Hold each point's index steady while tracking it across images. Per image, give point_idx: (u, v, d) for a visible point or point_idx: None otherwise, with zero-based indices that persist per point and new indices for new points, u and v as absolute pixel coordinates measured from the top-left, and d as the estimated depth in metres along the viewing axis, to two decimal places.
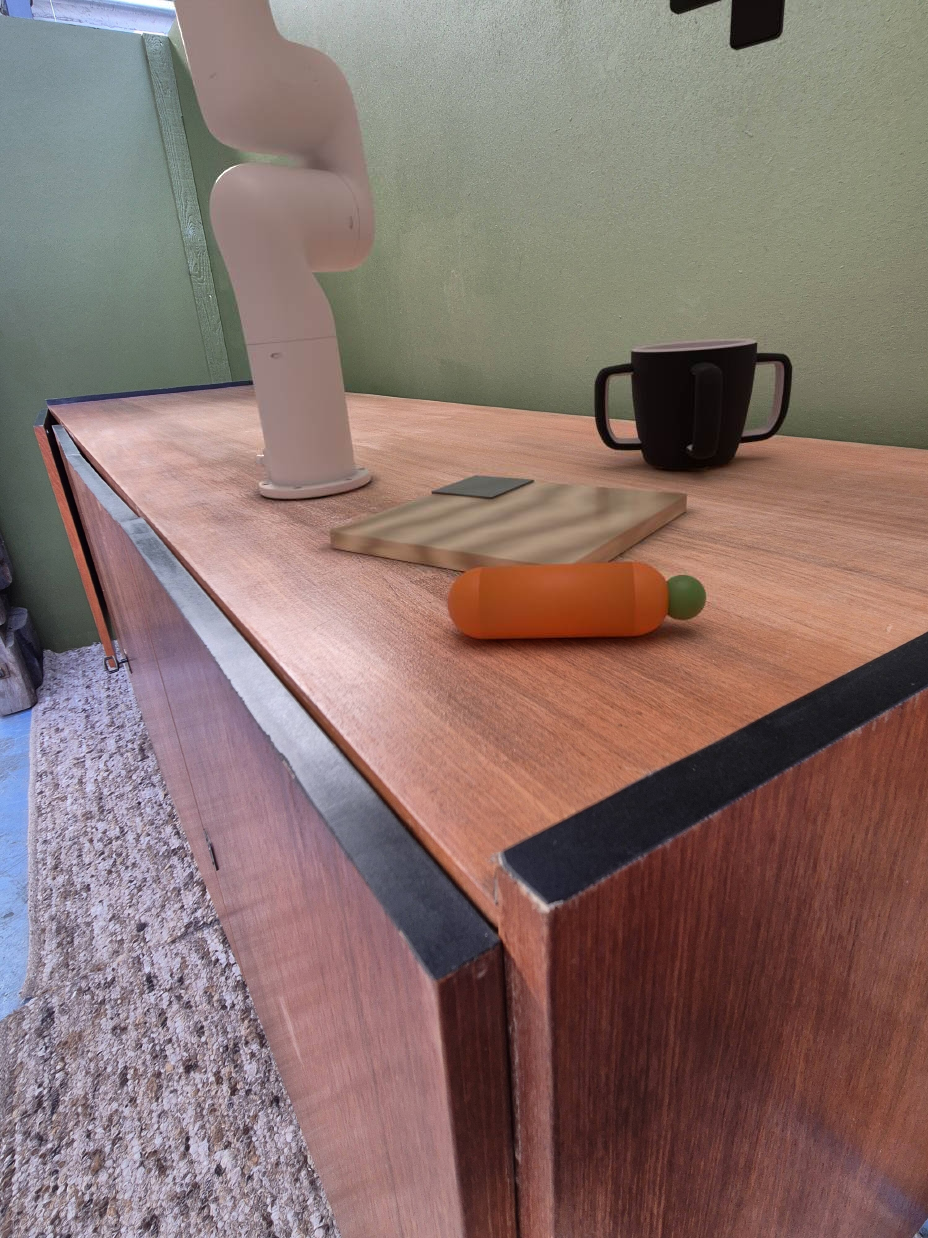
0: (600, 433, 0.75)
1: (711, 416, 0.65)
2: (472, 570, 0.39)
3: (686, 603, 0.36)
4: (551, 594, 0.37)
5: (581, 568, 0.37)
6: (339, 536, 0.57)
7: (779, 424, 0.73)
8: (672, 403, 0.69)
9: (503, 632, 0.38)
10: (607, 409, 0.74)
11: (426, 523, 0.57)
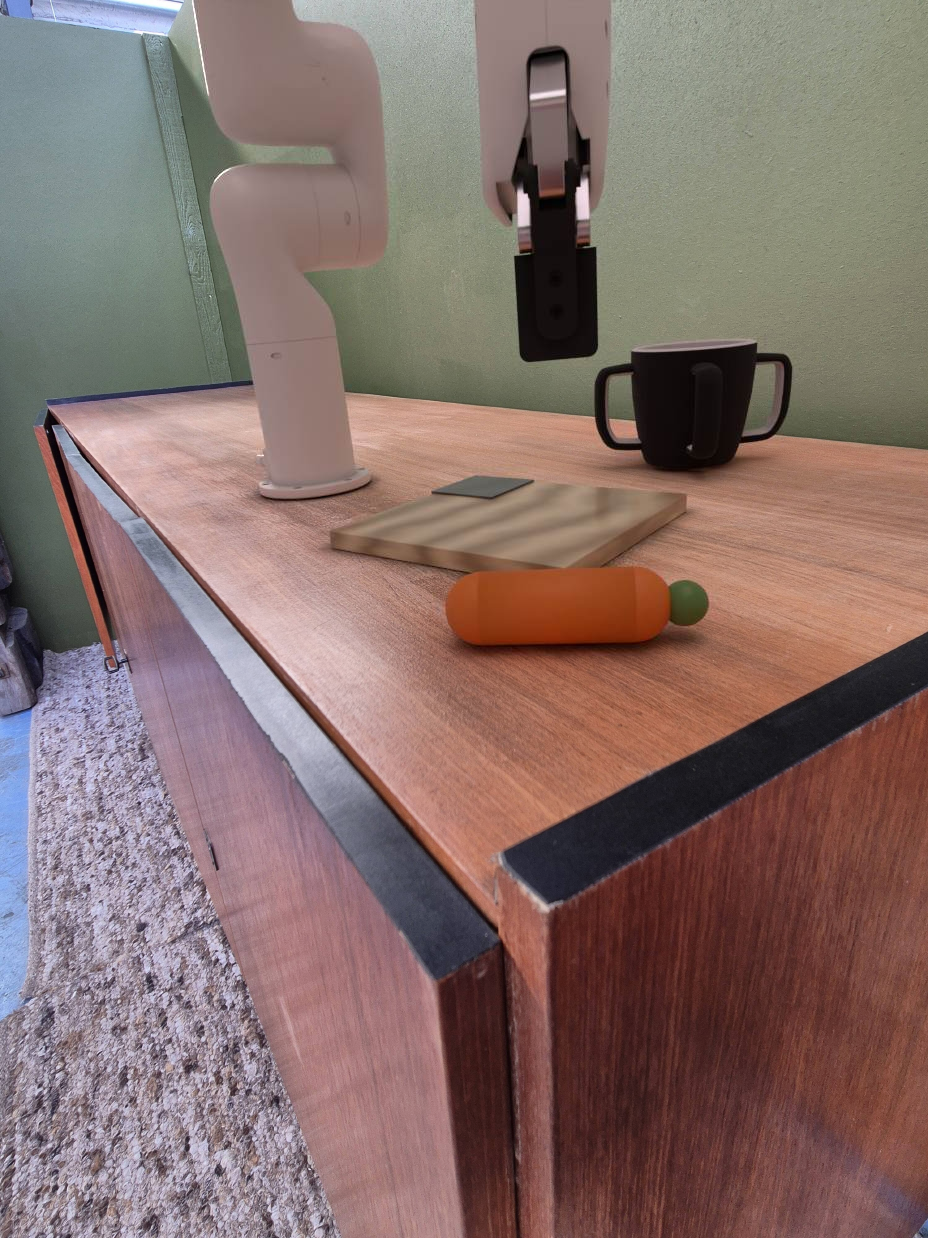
0: (600, 433, 0.75)
1: (711, 416, 0.65)
2: (468, 583, 0.37)
3: (688, 617, 0.36)
4: (551, 615, 0.36)
5: (582, 583, 0.36)
6: (339, 536, 0.57)
7: (779, 424, 0.73)
8: (672, 403, 0.69)
9: (503, 644, 0.38)
10: (607, 409, 0.74)
11: (426, 523, 0.57)
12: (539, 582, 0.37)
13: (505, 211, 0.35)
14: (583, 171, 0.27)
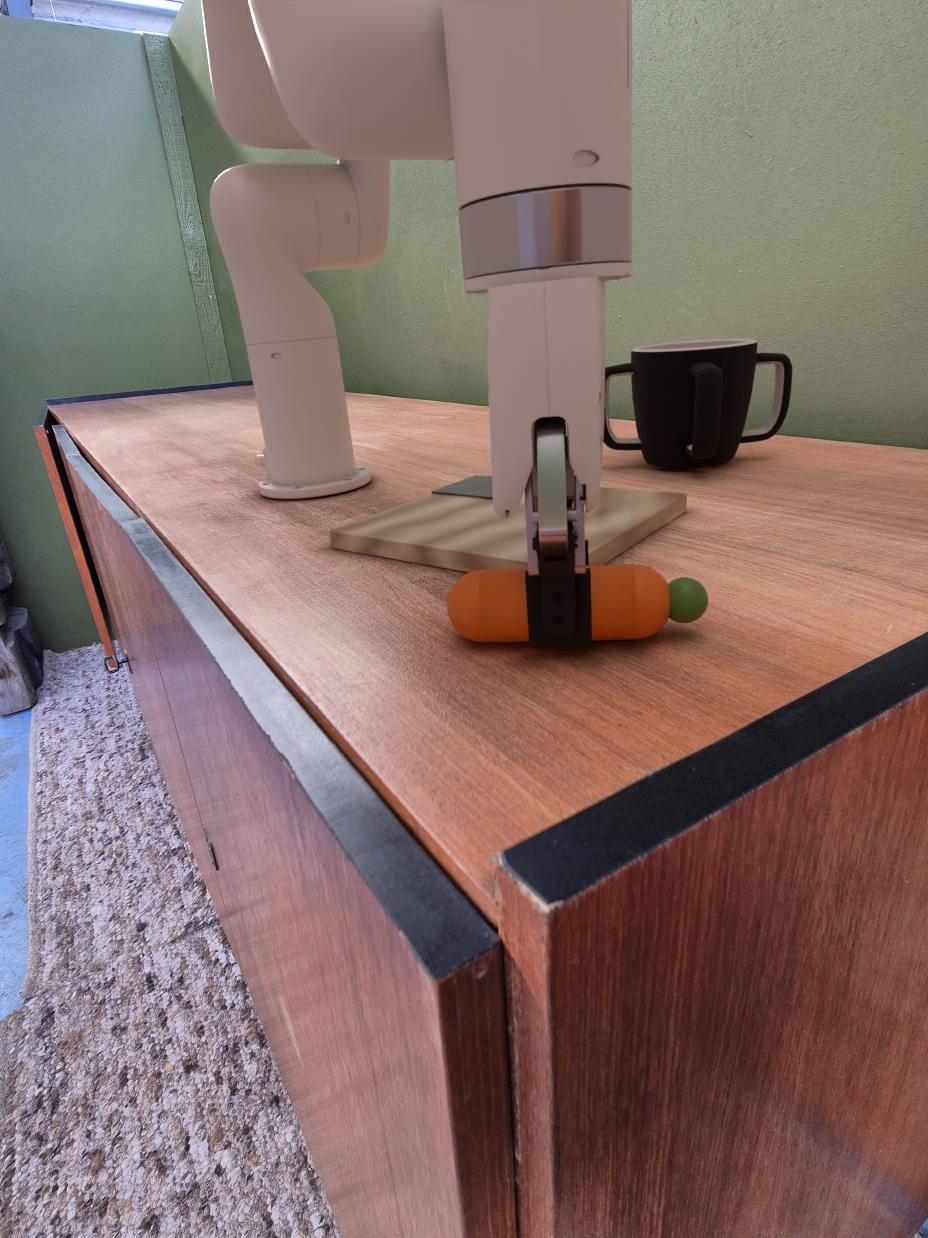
0: None
1: (711, 416, 0.65)
2: (470, 578, 0.38)
3: (687, 612, 0.36)
4: None
5: None
6: (339, 536, 0.57)
7: (779, 424, 0.73)
8: (672, 403, 0.69)
9: (504, 640, 0.38)
10: (607, 409, 0.74)
11: (426, 523, 0.57)
12: None
13: None
14: (580, 517, 0.33)
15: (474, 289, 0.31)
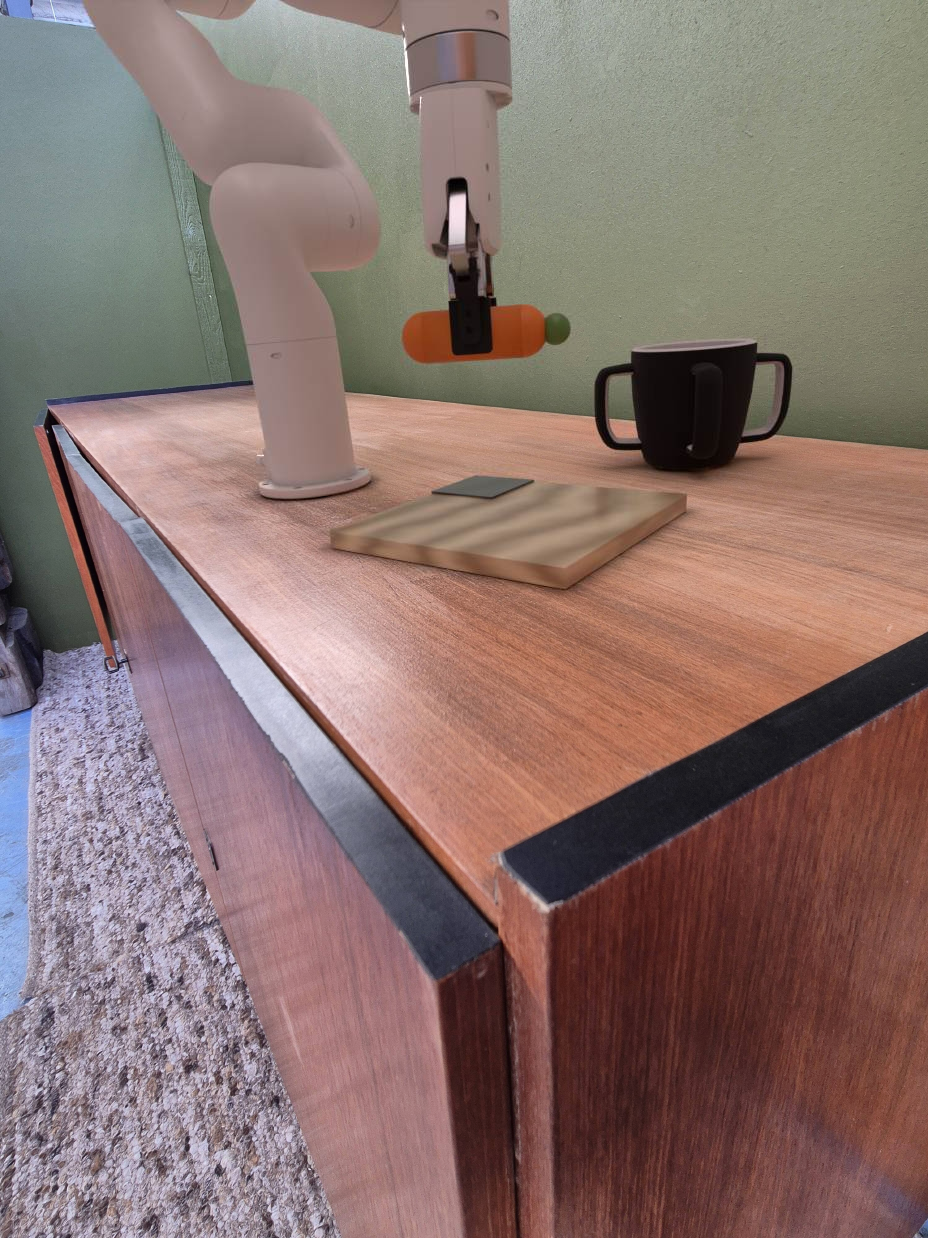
0: (600, 433, 0.75)
1: (711, 416, 0.65)
2: (416, 314, 0.57)
3: (555, 332, 0.56)
4: None
5: None
6: (339, 536, 0.57)
7: (779, 424, 0.73)
8: (672, 403, 0.69)
9: (438, 357, 0.58)
10: (607, 409, 0.74)
11: (426, 523, 0.57)
12: None
13: (446, 250, 0.59)
14: (480, 255, 0.53)
15: (413, 102, 0.50)
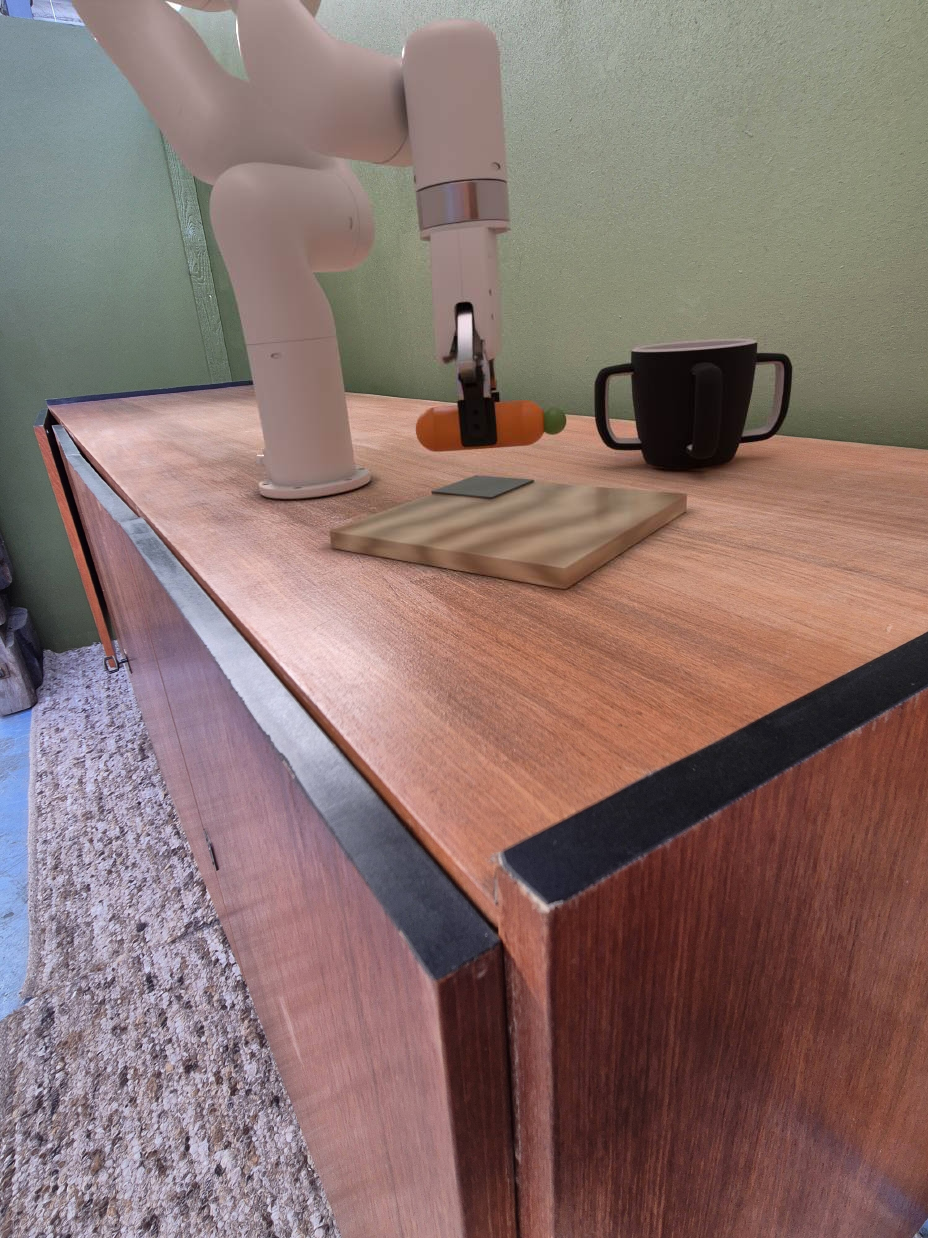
0: (600, 433, 0.75)
1: (711, 416, 0.65)
2: (428, 410, 0.64)
3: (553, 425, 0.63)
4: None
5: None
6: (339, 536, 0.57)
7: (779, 424, 0.73)
8: (672, 403, 0.69)
9: (449, 447, 0.65)
10: (607, 409, 0.74)
11: (426, 523, 0.57)
12: None
13: (453, 351, 0.66)
14: (485, 364, 0.60)
15: (424, 236, 0.58)
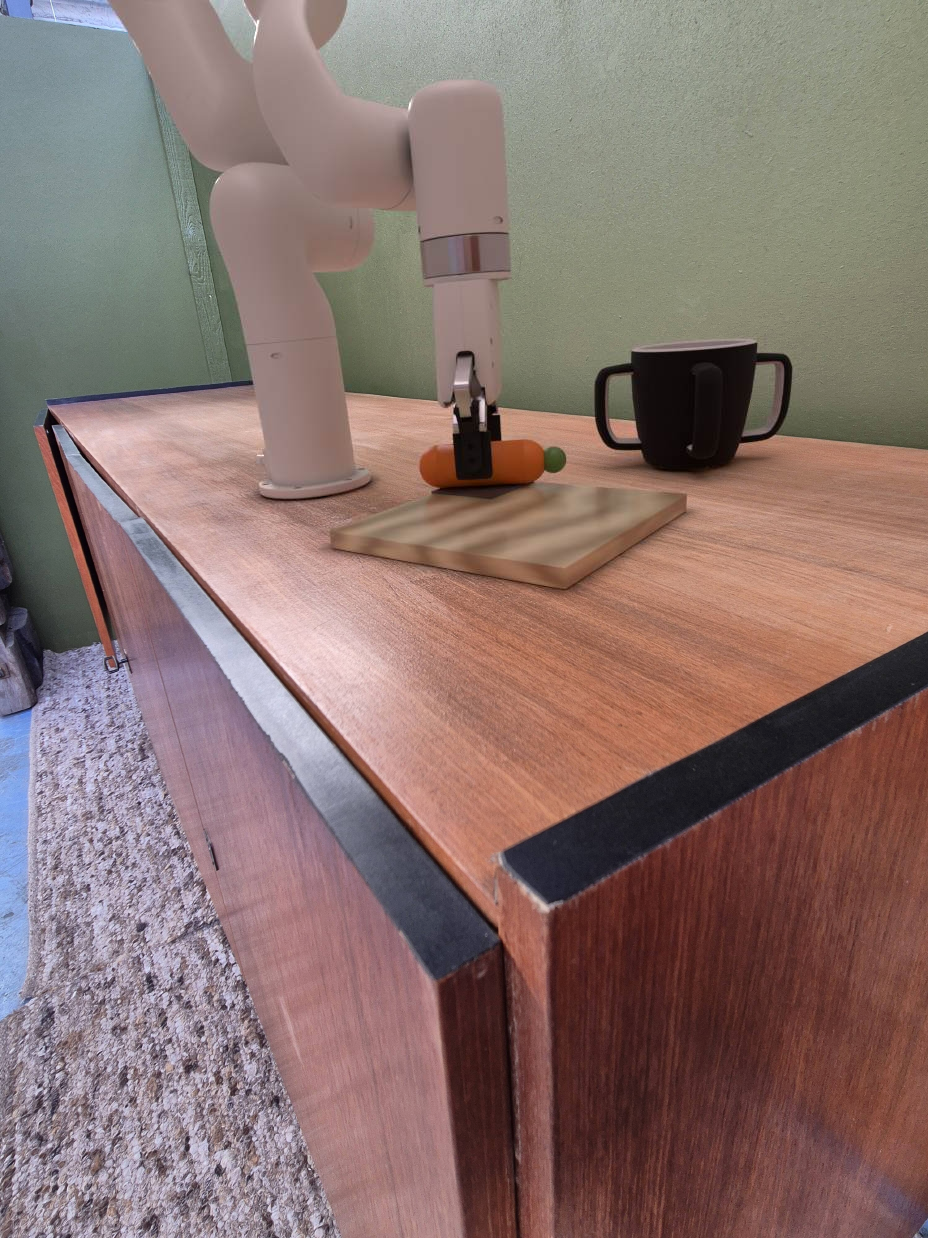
0: (600, 433, 0.75)
1: (711, 416, 0.65)
2: (432, 447, 0.66)
3: (553, 463, 0.65)
4: None
5: (494, 444, 0.65)
6: (339, 536, 0.57)
7: (779, 424, 0.73)
8: (672, 403, 0.69)
9: (451, 483, 0.66)
10: (607, 409, 0.74)
11: (426, 523, 0.57)
12: None
13: None
14: (483, 398, 0.60)
15: (427, 284, 0.59)
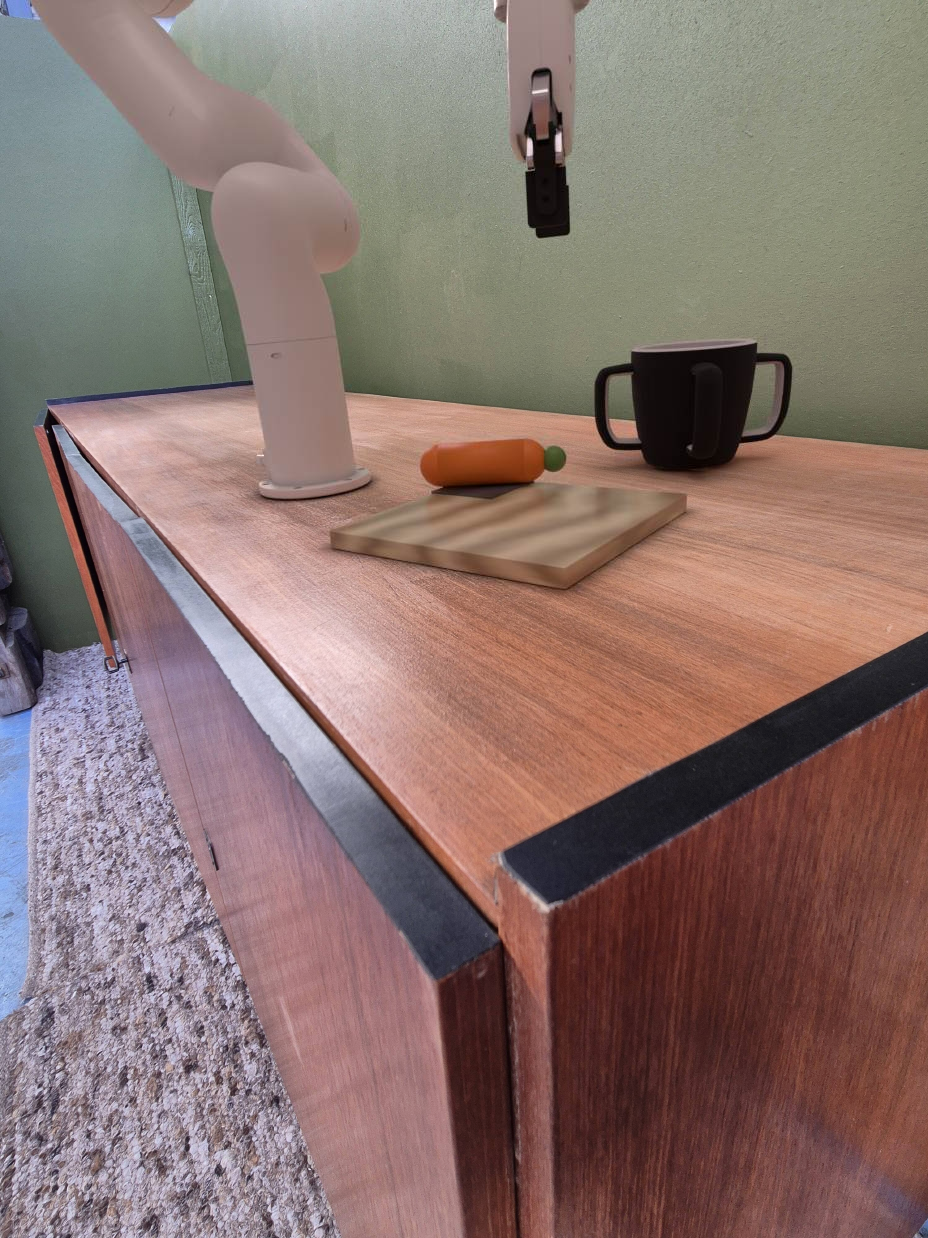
0: (600, 433, 0.75)
1: (711, 416, 0.65)
2: (434, 445, 0.67)
3: (553, 459, 0.65)
4: (477, 455, 0.65)
5: (495, 441, 0.66)
6: (339, 536, 0.57)
7: (779, 424, 0.73)
8: (672, 403, 0.69)
9: (451, 479, 0.66)
10: (607, 409, 0.74)
11: (426, 523, 0.57)
12: (472, 442, 0.66)
13: (521, 154, 0.63)
14: (559, 128, 0.55)
15: (500, 3, 0.55)
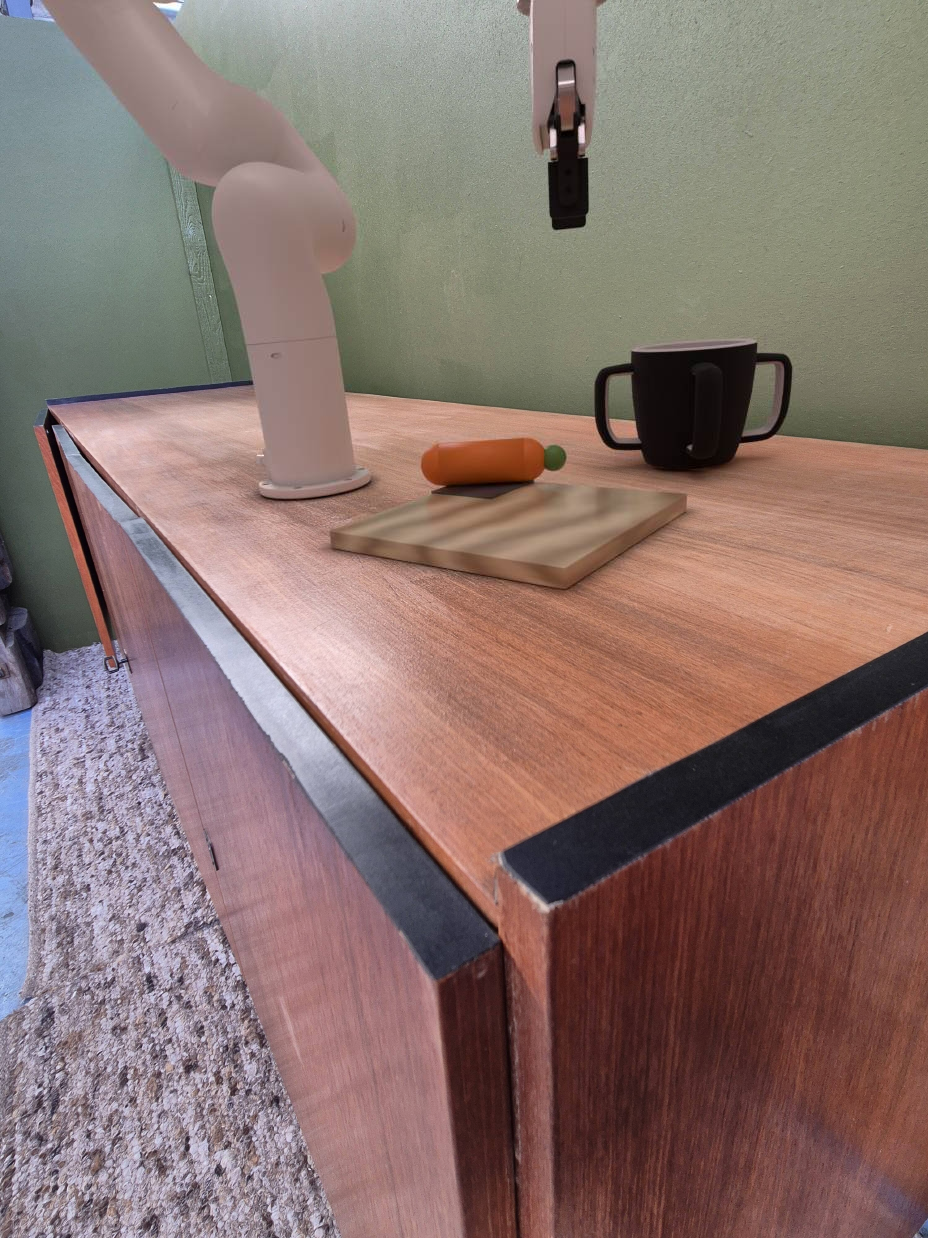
0: (600, 433, 0.75)
1: (711, 416, 0.65)
2: (435, 444, 0.68)
3: (553, 455, 0.65)
4: (478, 450, 0.66)
5: None
6: (339, 536, 0.57)
7: (779, 424, 0.73)
8: (672, 403, 0.69)
9: (451, 475, 0.66)
10: (607, 409, 0.74)
11: (426, 523, 0.57)
12: (473, 441, 0.67)
13: None
14: (582, 119, 0.56)
15: None
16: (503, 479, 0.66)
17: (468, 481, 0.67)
